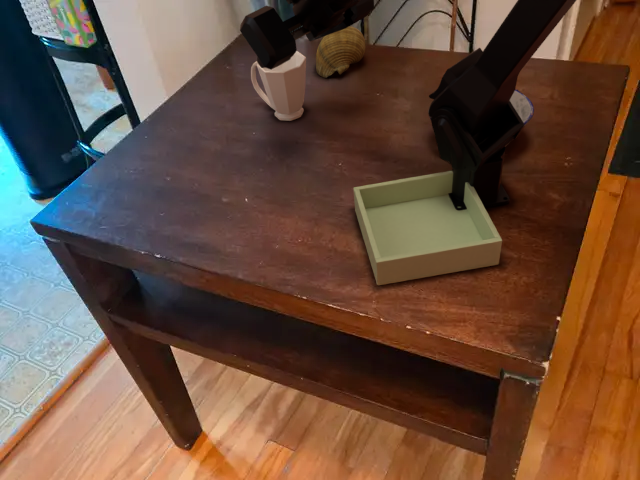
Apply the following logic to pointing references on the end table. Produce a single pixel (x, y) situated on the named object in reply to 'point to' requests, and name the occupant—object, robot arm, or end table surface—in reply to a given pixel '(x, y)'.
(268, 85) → the cup
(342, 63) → the seashell
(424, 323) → the end table surface
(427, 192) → the tray
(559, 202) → the end table surface
